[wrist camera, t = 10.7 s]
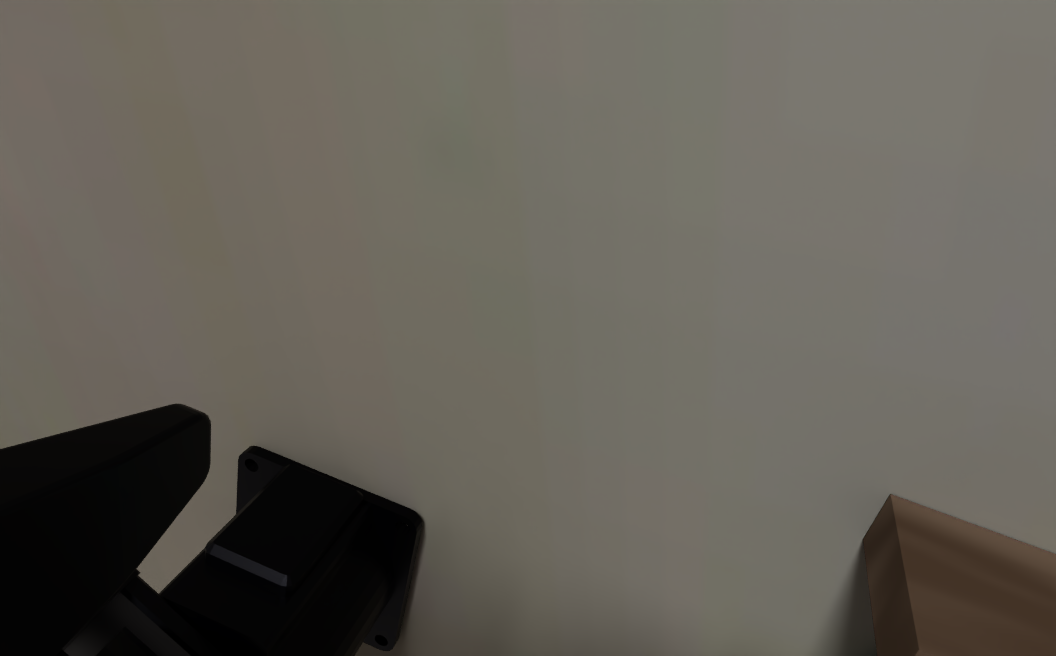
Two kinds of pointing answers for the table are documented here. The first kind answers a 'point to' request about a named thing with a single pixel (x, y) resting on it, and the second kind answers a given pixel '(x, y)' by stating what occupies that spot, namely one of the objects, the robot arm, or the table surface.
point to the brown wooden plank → (956, 587)
